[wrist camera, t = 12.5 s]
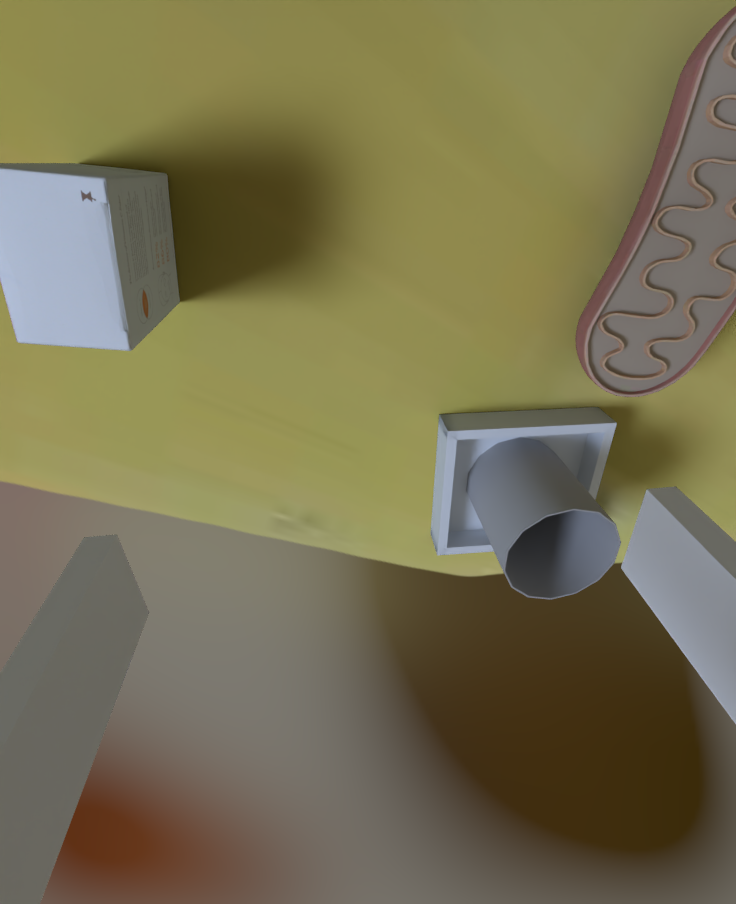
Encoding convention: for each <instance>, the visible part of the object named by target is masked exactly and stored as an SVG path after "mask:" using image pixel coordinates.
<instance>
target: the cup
mask: <svg viewBox="0 0 736 904" xmlns="http://www.w3.org/2000/svg"><path fill="white" fill-rule="evenodd" d="M466 492H467V494H468V496H469V498H470V501H471V503H472V505H473V507H474V509H475V511H476V513H477V516H478V518H479V520H480V522H481V524H482V526H483V529H484V531H485V533H486V535H487V537H488V539H489V541H490V544H491V546H492V548H493V550H494V552H495V554H496V556H497V559H498V561H499V563H500V565H501V567H502V569H503V571H504V574H505V575H506V577H507V580H508V582H509V584H510V586H511V587H512V588H513V589H515V590H517V591H518V592H520V593H522V594H524V595H525V596H527V597H531V598H543V599H555V598H558V597H563V596H567V595H572V594H575V593H578V592H579V591H581V590H583V589H584V588H586V587H588V586H589V585H591V584H593V583H595V582H597V581H598V580H599V579H600V578H601V577H602V576H603V574H605V573H606V571H607V570H608V569H609V568H610V567H611V566H612V565H613V564H614V562H615V559H616V556H617V553H618V550H619V547H620V544H621V541H620V537H619V534H618V530H617V527H616V524H615V523H614V522H613V521H612V519H611V518H610V517H609V516H608V515H607V513H606V512H605V511H604V510H603V509H602V508H601V506H600V505H599V504H598V503H597V502H596V500H595V499H594V498H593V497H592V496H591V495H590V493H589V492H588V491H587V490H586V489H585V487H584V486H583V485H582V484H581V483H580V482H579V480H578V479H577V478H576V477H575V476H574V474H573V473H572V472H571V471H570V470H569V469H568V467H567V466H566V465H565V464H564V463H563V461H562V460H561V459H560V458H559V457H558V456H557V454H556V453H555V452H554V451H553V450H551V449H550V448H549V447H548V446H546V445H545V444H544V443H542V442H541V441H539V440H533V439H527V438H520V437H519V438H515V439H511V440H507V441H503V442H499V443H497V444H495V445H494V446H492V447H491V448H490V449H488V450H487V451H485V452H484V453H482V454H481V455H480V456H479V457H478V458H477V460H476V461H475V463H474V465H473V466H472V468H471V469H470V471H469V472H468V477H467V486H466Z"/></svg>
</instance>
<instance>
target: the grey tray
mask: <svg viewBox="0 0 736 904" xmlns="http://www.w3.org/2000/svg"><path fill="white" fill-rule="evenodd" d="M616 425H617V422H615V421H614V420H613V419H612V418H611V417H609V416H608V415H607V414H606V413H605V412H603V411H602V410H601V409H600V408H599V407H588V408H567V409H545V410H524V411H503V412H481V413H460V414H439V426H438V440H437V454H436V468H435V481H434V495H433V509H432V522H431V536H432V540H433V543H434V546H435V549H436V552H437V555H448V554H462V553H477V552H492V551H494V550H493V548H492V546H491V544H490V541H489V539H488V537H487V535H486V533H485V531H484V529H483V526H482V524H481V522H480V520H479V518H478V516H477V513H476V511H475V509H474V507H473V505H472V503H471V501H470V498H469V496H468V494H467V492H466V486H467V477H468V472H469V471H470V469H471V468H472V466H473V465H474V463H475V461H476V460H477V458H478V457H479V456H480V455H481V454H482V453H484V452H485V451H487V450H488V449H490V448H491V447H492V446H494V445H495V444H497V443H499V442H503V441H507V440H511V439H515V438H519V437H520V438H527V439H533V440H539V441H541V442H542V443H544V444H545V445H546V446H548V447H549V448H550V449H551V450H553V451H554V452H555V453H556V454H557V456H558V457H559V458H560V459H561V460H562V461H563V463H564V464H565V465H566V466H567V467H568V469H569V470H570V471H571V472H572V473H573V474H574V476H575V477H576V478H577V479H578V480H579V482H580V483H581V484H582V485H583V486H584V487H585V489H586V490H587V491H588V492H589V493H590V495H591V496H592V497H593V498H594V499H595V500H596V496H597V493H598V489H599V485H600V482H601V478H602V475H603V471H604V468H605V464H606V460H607V457H608V453H609V450H610V446H611V443H612V439H613V436H614V432H615V428H616Z"/></svg>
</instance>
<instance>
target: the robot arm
mask: <svg viewBox="0 0 736 904" xmlns="http://www.w3.org/2000/svg"><path fill="white" fill-rule="evenodd" d="M621 568H622V570H623V571H624V572H625V574H626V575H627V577H628V578H629V579H630V581H631V582H632V583H633V585H634V586H635V587H636V589H637V590H638V592H639V593H640V594H641V596H642V597H643V598H644V600H645V601H646V602H647V604H648V605H649V607H650V608H651V609H652V611H653V612H654V613H655V615H656V616H657V617H658V619H659V620H660V622H661V623H662V624H663V626H664V627H665V628H666V630H667V631H668V633H669V634H670V635H671V637H672V638H673V639H674V641H675V642H676V643H677V645H678V646H679V647H680V649H681V650H682V652H683V653H684V654H685V656H686V657H687V658H688V659H689V661H690V663H691V664H692V665H693V666H694V668H695V669H696V670H697V672H698V673H699V675H700V676H701V678H702V679H703V680H704V682H705V683H706V684H707V686H708V687H709V688H710V690H711V691H712V692H713V694H714V695H715V697H716V698H717V699H718V701H719V702H720V703H721V705H722V706H723V707H724V709H725V710H726V711H727V713H728V714H729V716H730V717H731V718H732V720H733V721H734V723H735V724H736V542H735V541H734V540H733V539H732V538H731V537H730V536H729V535H728V534H727V533H725V532H724V531H723V530H722V529H721V528H720V527H719V526H718V525H717V524H716V523H715V522H714V521H712V520H711V519H710V518H709V517H708V516H707V515H706V514H705V513H704V512H703V511H702V510H701V509H700V508H698V507H697V506H696V505H695V504H694V503H693V502H692V501H691V500H690V499H689V498H688V497H687V496H685V495H684V494H683V493H682V492H681V491H680V490H679V489H678V488H677V487H665V488H654V489H647V490H646V493H645V496H644V499H643V502H642V505H641V508H640V511H639V515H638V518H637V521H636V524H635V527H634V530H633V533H632V536H631V539H630V542H629V545H628V548H627V552H626V555H625V558H624V561H623V564H622V567H621ZM148 614H149V611H148V609H147V606H146V603H145V601H144V599H143V596H142V594H141V591H140V589H139V586H138V584H137V582H136V579H135V577H134V574H133V572H132V570H131V567H130V565H129V562H128V560H127V557H126V555H125V553H124V550H123V548H122V545H121V543H120V540H119V538H118V536H117V535H106V536H96V537H95V536H94V537H84V539H83V540H82V542H81V543H80V545H79V547H78V548H77V550H76V552H75V553H74V555H73V556H72V558H71V560H70V561H69V563H68V564H67V566H66V568H65V569H64V571H63V573H62V574H61V576H60V577H59V579H58V581H57V582H56V584H55V585H54V587H53V589H52V590H51V592H50V594H49V595H48V597H47V598H46V600H45V601H44V603H43V605H42V606H41V608H40V610H39V611H38V613H37V614H36V616H35V618H34V619H33V621H32V623H31V624H30V626H29V627H28V629H27V631H26V632H25V634H24V635H23V637H22V639H21V640H20V642H19V643H18V645H17V647H16V648H15V650H14V652H13V653H12V655H11V656H10V658H9V660H8V661H7V663H6V665H5V666H4V668H3V669H2V671H1V672H0V904H40V902H41V899H42V897H43V894H44V891H45V889H46V886H47V883H48V881H49V878H50V875H51V873H52V870H53V867H54V864H55V862H56V859H57V857H58V854H59V851H60V848H61V845H62V843H63V841H64V838H65V835H66V833H67V830H68V827H69V825H70V822H71V819H72V817H73V814H74V811H75V808H76V806H77V803H78V801H79V798H80V795H81V793H82V790H83V787H84V785H85V782H86V779H87V777H88V774H89V771H90V769H91V766H92V763H93V761H94V758H95V755H96V753H97V750H98V747H99V745H100V742H101V739H102V737H103V734H104V731H105V729H106V726H107V723H108V721H109V718H110V715H111V713H112V710H113V707H114V705H115V702H116V699H117V697H118V694H119V691H120V689H121V686H122V684H123V681H124V678H125V676H126V673H127V670H128V667H129V665H130V662H131V660H132V657H133V654H134V652H135V649H136V646H137V643H138V641H139V638H140V636H141V633H142V630H143V628H144V625H145V622H146V620H147V617H148Z"/></svg>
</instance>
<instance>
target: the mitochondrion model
mask: <svg viewBox="0 0 736 904" xmlns="http://www.w3.org/2000/svg"><path fill="white" fill-rule="evenodd" d="M735 310H736V6H735V7H734V8H733V9H732V10H731V11H729V12H728V13H727V14H726V15H725V16H724V17H723V18H721V19H720V20H719V21H718V22H717V23H716V24H715V25H714V27H713V28H712V29H711V30H710V31H709V32H708V33H707V34H706V36H705V37H704V38H703V39H702V40H701V41H700V43H699V44H698V45H697V47H696V48H695V50H694V51H693V53H692V54H691V56H690V57H689V59H688V61H687V63H686V65H685V66H684V68H683V70H682V72H681V74H680V77H679V81H678V84H677V87H676V90H675V94H674V97H673V100H672V104H671V107H670V110H669V113H668V117H667V120H666V123H665V126H664V130H663V133H662V136H661V140H660V143H659V146H658V149H657V153H656V156H655V159H654V163H653V166H652V169H651V171H650V174H649V177H648V179H647V182H646V184H645V187H644V189H643V192H642V194H641V197H640V199H639V202H638V204H637V207H636V209H635V212H634V214H633V216H632V218H631V221H630V223H629V225H628V227H627V230H626V232H625V234H624V236H623V238H622V241H621V243H620V245H619V247H618V250H617V252H616V254H615V255H614V257H613V259H612V261H611V263H610V264H609V266H608V268H607V270H606V272H605V273H604V275H603V277H602V279H601V281H600V282H599V284H598V286H597V288H596V290H595V291H594V293H593V295H592V297H591V299H590V300H589V302H588V304H587V306H586V308H585V309H584V311H583V313H582V315H581V317H580V319H579V322H578V326H577V331H576V350H577V354H578V357H579V360H580V363H581V365H582V367H583V369H584V371H585V372H586V374H587V375H588V377H589V378H590V379H591V380H592V381H593V382H594V383H595V384H596V385H598V386H599V387H600V388H602V389H603V390H605V391H606V392H609V393H611V394H614V395H616V396H624V397H639V396H644V395H648V394H651V393H654V392H658V391H660V390H661V389H663V388H665V387H667V386H669V385H671V384H673V383H675V382H676V381H677V380H679V379H680V378H681V377H683V376H684V375H685V374H686V373H687V372H688V371H689V370H690V369H691V368H692V367H693V366H695V364H696V363H697V362H698V360H699V359H700V358H701V357H702V355H703V354H704V353H705V352H706V350H707V349H708V348H709V346H710V345H711V343H712V342H713V341H714V339H715V338H716V336H717V335H718V334H719V332H720V331H721V329H722V328H723V327H724V325H725V324H726V322H727V321H728V320H729V318H730V317H731V315H732V314H733V313H734V311H735Z"/></svg>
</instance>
